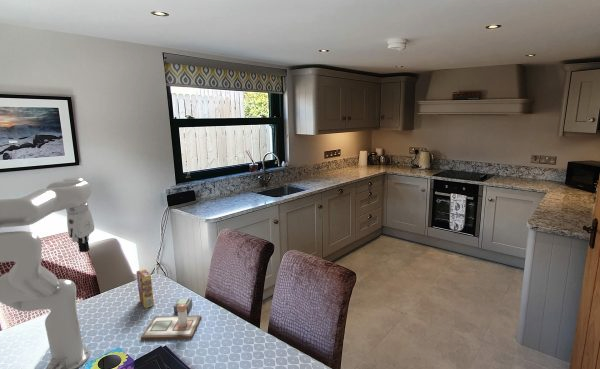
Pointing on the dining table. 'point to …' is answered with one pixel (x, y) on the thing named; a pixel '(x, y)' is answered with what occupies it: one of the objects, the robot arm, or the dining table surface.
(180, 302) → the button
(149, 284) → the candy box
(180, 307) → the cylinder
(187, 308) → the button housing
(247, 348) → the dining table surface
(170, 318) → the picture board
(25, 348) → the dining table surface
